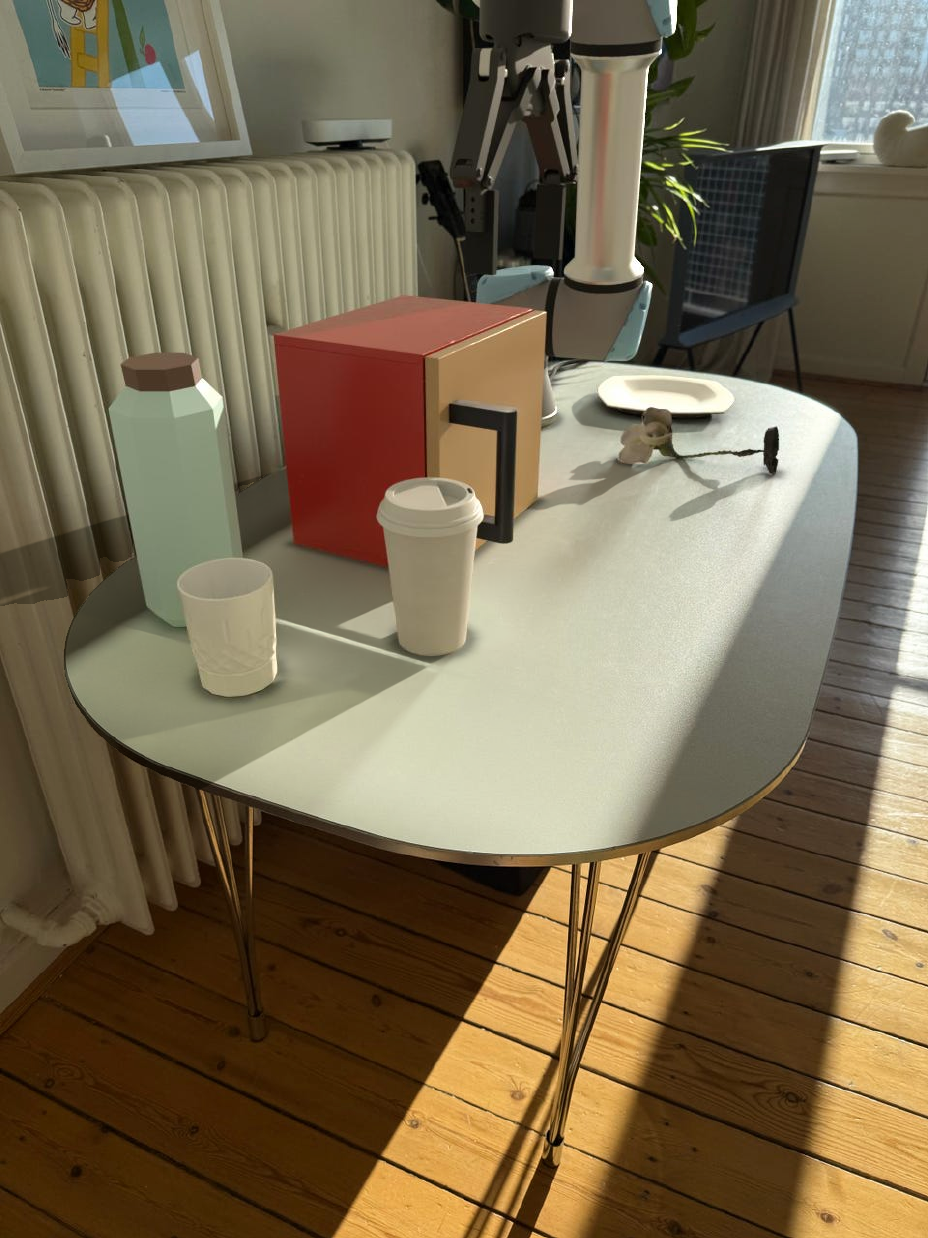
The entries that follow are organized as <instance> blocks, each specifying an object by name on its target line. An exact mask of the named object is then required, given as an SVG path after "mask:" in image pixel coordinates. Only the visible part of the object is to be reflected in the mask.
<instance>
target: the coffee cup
mask: <svg viewBox="0 0 928 1238" xmlns="http://www.w3.org/2000/svg"><path fill="white" fill-rule="evenodd" d="M483 517H484V514H483V511H482V507H481V505H480V502H479V501H478V499H477V498H476V497H475V493H474V490H473V489H472V488H471V487H470V486H468V485H467V484H465V483H462V482H460V481H456V480H452V479H447V478H435V477H426V478H415V479H409V480H405V481H401V482H399V483H396V484H394V485H392V486H391V487H389V488H388V489H387V491H386V493H385V497H384V499H383V500H382V501H381V503H380V506H379V508H378V512H377V520H378V522H379V523H380V524H381V525H382V526H383V530H384V537H385V544H386V551H387V558H388V565H389V567H388V572H389V579H390V586H391V594H392V601H393V602H392V603H393V608H394V609H393V610H394V616H395V623H396V632H397V638H398V643H399V645H400V646H401V647H402V648H403V649H404V650H405V651H407V652H410V653H412V654H415V655H419V656H425V657H426V656H427V657H437V656H443V655H448V654H451V653H454V652H456V651H458V650H460V649H462V647H463V646H464V645H465V643H466V640H467V630H468V622H469V610H470V602H471V590H472V583H473V572H474V561H475V553H476V551H475V544H476V535H477V527H478V525H479V524H480V523H481V522H482V520H483Z"/></svg>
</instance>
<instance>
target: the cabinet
mask: <svg viewBox="0 0 928 1238" xmlns="http://www.w3.org/2000/svg"><path fill="white" fill-rule="evenodd" d="M531 312H533V309H531V308H522V307H512V306H503V305H493V304H484V303H476V302H473V301H465V300H455V299H446V298H437V297H435V298H434V297H424V296H417V295H416V296H415V295H407V294H403V295H398V296H396V297H392V298H389V299H385V300H382V301H379V302H376V303H373V304H369V305H366V306H362V307H360V308H356V309H353V310H349V311H346V312H343V313H340V314H336V315H333V316H330V317H326V318H323V319H320V320H317V321H313V322H310V323H307V324H303V325H301V326H297V327H294V328H290V329H286V330H284V331H281V332H277V333H274V334H273V335H272V336H273V346H274V356H275V357H274V358H275V366H276V377H277V387H278V396H279V408H280V417H281V418H280V419H281V428H282V437H283V448H284V459H285V460H284V461H285V468H286V480H287V489H288V500H289V510H290V511H289V512H290V519H291V520H290V521H291V531H292V539H293V544H294V545H297V546H301V547H306V548H310V549H314V550H318V551H321V552H325V553H330V554H334V555H336V556H337V555H338V556H342V557H346V558H350V559H353V560H357V561H362V562H366V563H370V564H374V565H378V566H381V567H384V568H385V567H386V568H389V565H388V558H387V551H386V544H385V537H384V530H383V526H382V525H381V524H380V523H379V522H378V520H377V512H378V508H379V506H380V503H381V501H382V500H383V499H384V497H385V493H386V491H387V489H388V488H389V487H391V486H392V485H394V484H396V483H399V482H401V481H405V480H409V479H415V478H426V477H427V436H426V374H425V357H426V356H429V355H431V354H433V353H436V352H438V351H440V350H443V349H445V348H448V347H450V346H452V345H455V344H457V343H459V342H462V341H464V340H467V339H469V338H471V337H474V336H476V335H478V334H481V333H483V332H486V331H488V330H490V329H493V328H495V327H497V326H500V325H502V324H504V323H507V322H509V321H512V320H514V319H516V318H519V317H521V316H523V315H526V314H528V313H531Z"/></svg>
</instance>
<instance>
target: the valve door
mask: <svg viewBox="0 0 928 1238" xmlns="http://www.w3.org/2000/svg"><path fill="white" fill-rule="evenodd" d="M546 315H547V312H546V311H537V310H535V311H533V312H531V313H528V314H526V315H523V316H521V317H519V318H516V319H514V320H512V321H509V322H507V323H504V324H502V325H500V326H497V327H495V328H493V329H490V330H488V331H486V332H483V333H481V334H478V335H476V336H474V337H471V338H469V339H467V340H464V341H462V342H459V343H457V344H455V345H452V346H450V347H448V348H445V349H443V350H440V351H438V352H436V353H433V354H431V355H429V356H426V357H425V374H426V436H427V477H435V478H447V479H452V480H456V481H460V482H462V483H465V484H467V485H468V486H470V487H471V488H472V489H473V490H474V493H475V497H476V498H477V499H478V501H479V502H480V505H481V507H482V511H483V514H484V517H483V520H482V522H481V523H480V524H479V525H478V527H477V535H476V544H475V552H476V551H477V550H479V548H481V547H482V546H483V545H484V544H486V543H487V542H492V543H497V544H501V545H502V544H503V545H505V544H506V545H507V544H510V543H512V542H513V541H514V528H515V527H514V525H515V523H514V522H515V519H516V518H517V517H518V516H520V515H521V514H522V513H523V512H524V511H526V510H527V509H528V508H529V507H531V506H532V505H533V504H534V503H535V502H537V501H538V496H539V476H540V456H541V438H542V437H541V436H542V427H541V418H542V397H543V377H544V356H545V336H546Z"/></svg>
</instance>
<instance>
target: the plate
mask: <svg viewBox="0 0 928 1238" xmlns="http://www.w3.org/2000/svg"><path fill="white" fill-rule="evenodd" d="M596 391H597V392H596V394H597V397H599V399H600V400H601V402H602V403H603V404H604V405H605V406H606V407H607V408H611V409H618V411H620V412H622V413H624V414H631V415H637V416H642V415H643V413H644V411H645V410H646V409H647V408H649V407H655V408H658V409H667V410H669V411H670V412H671V418H679V419H681V418H689V419H691V418H707V417H709V416H711V415H724V414H725V413H726V412H727V411H728V410H729V409H730V407H731V406H732V405H733V403H734V400H735V397H734V395H733V394H732V392H731V391H730V390H728V389H727V388H726V386H723V385H722V384H721V383H719V382H718V381H717V380H716V381H715V380H709V379H701V378H692V377H683V376H671V375H612V376H610V377H609V378H607V379H606V380H604V381H603V382H602V383H601V384H599V385H598V387H597V389H596ZM645 412H646V411H645ZM643 416H644V415H643Z"/></svg>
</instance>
